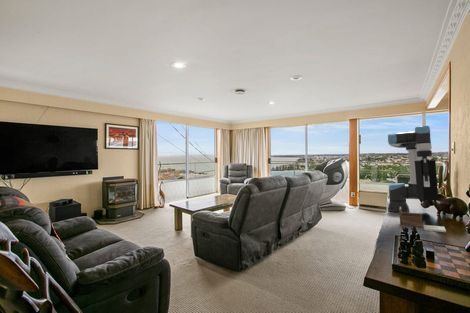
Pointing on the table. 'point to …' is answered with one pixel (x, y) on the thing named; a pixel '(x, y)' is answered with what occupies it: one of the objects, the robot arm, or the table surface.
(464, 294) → the table surface
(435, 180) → the black tall block
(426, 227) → the felt mat
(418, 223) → the book bay
